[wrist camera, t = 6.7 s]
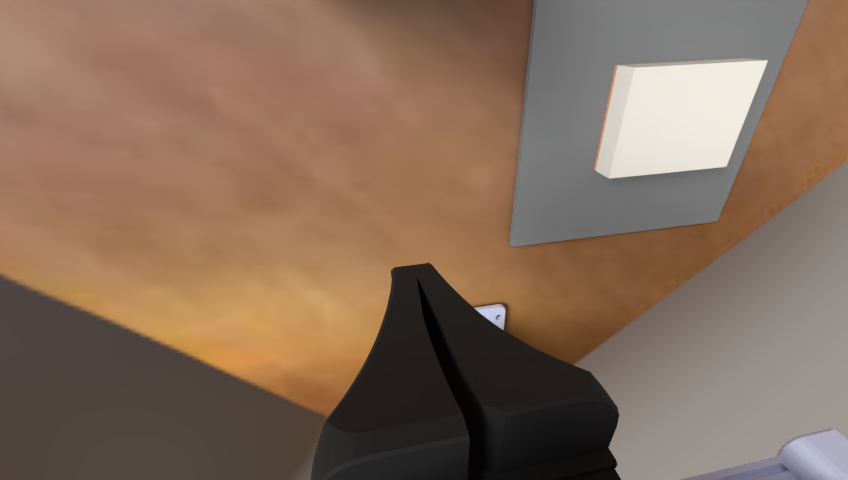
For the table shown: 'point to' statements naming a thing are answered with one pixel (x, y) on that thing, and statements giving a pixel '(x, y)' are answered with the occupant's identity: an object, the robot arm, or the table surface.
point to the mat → (587, 101)
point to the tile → (675, 115)
